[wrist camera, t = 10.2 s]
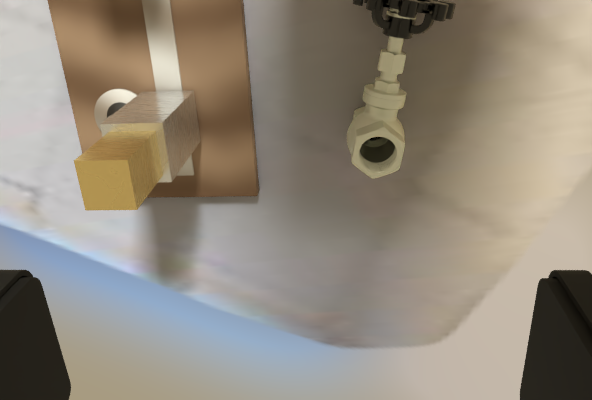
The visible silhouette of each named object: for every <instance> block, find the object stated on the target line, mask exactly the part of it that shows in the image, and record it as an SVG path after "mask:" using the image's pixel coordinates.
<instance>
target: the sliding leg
mask: <svg viewBox="0 0 592 400" xmlns="http://www.w3.org/2000/svg"><path fill="white" fill-rule="evenodd" d="M100 128H101V132H102V138H101V139H100V140H99V141H97V142H96V143H95V144H94V145H93V146H91V147H90V148H89V149H88V150H86V151H85V152H84V153H83V154H82V155H80V156H79V157H78V158H77V159H76V160H74V163H75V168H76V172H77V176H78V180H79V184H80V189H81V193H82V197H83V201H84V205H85V210H137V209H138V208H139V206H140V205H141V204H142V202H143V201H144V200H145V198H146V197H147V196H148V194H149V193H150V192H151V191H152V189H153V188H154V187H155V185H156V184H157V183H158V182H172V181H173V180H174V178H175V177H176V175H177V174H178V173H179V171H180V170H181V168H182V167H183V165H184V164H185V163H186V161H187V160H188V158H189V157H190V155H191V154H192V153H193V151H194V150H195V148H196V147H197V145H198V144H199V143H200V134H199V126H198V118H197V111H196V103H195V95H194V90H191V91H157V92H141V93H140V94H139V95H137V96H136V97H135V98H133V99H132V100H131V101H130V102H128V103H127V104H126V105H124V106H123V107H122V108H120V109H119V110H118V111H116V112H115V113H114V114H112V115H111V116H109V117H108V118H107V119H106V120H105V121H103V122H102V123H101V124H100Z"/></svg>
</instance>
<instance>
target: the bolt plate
mask: <svg viewBox="0 0 592 400" xmlns="http://www.w3.org/2000/svg"><path fill="white" fill-rule="evenodd" d="M48 4H49V9H50V13H51V18H52V22H53V26H54V31H55V35H56V39H57V44H58V48H59V53H60V57H61V61H62V66H63V70H64V74H65V79H66V83H67V88H68V92H69V96H70V101H71V105H72V109H73V114H74V118H75V123H76V127H77V131H78V136H79V140H80V144H81V149H82V153H84V152H85V151H86V150H88V149H89V148H90V147H91V146H93V145H94V144H95V143H96V142H97V141H99V140H100V139H101V138H102V132H101V128H100V124H101V123H102V122H103V121H105V120H106V119H107V118H108V117H109V116H111V115H112V114H114V113H115V112H116V111H118V110H119V109H120V108H122V107H123V106H124V105H126V104H127V103H128V102H130V101H131V100H132V99H133V98H135V97H136V96H137V95H139V94H140V93H141V92H157V91H191V90H194V95H195V103H196V111H197V118H198V126H199V134H200V143H199V144H198V145H197V147H196V148H195V150H194V151H193V153H192V154H191V155H190V157H189V158H188V160H187V161H186V163H185V164H184V165H183V167H182V168H181V170H180V171H179V173H178V174H177V175H176V177H175V178H174V180H173V181H172V182H158V183H157V184H156V185H155V187H154V188H153V189H152V191H151V192H150V193H149V194H148V196H147V197H216V196H257V195H258V192H259V182H258V170H257V158H256V146H255V134H254V123H253V111H252V99H251V87H250V75H249V64H248V52H247V40H246V28H245V16H244V4H243V0H48Z"/></svg>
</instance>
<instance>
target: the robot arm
mask: <svg viewBox="0 0 592 400" xmlns="http://www.w3.org/2000/svg"><path fill="white" fill-rule="evenodd" d="M70 391H71V384H70V379H69V376H68V373H67V369H66V366H65V363H64V359H63V356H62V352H61V349H60V345H59V342H58V339H57V335H56V332H55V328H54V325H53V322H52V318H51V315H50V312H49V308H48V305H47V301H46V298H45V295H44V291H43V288H42V285H41V282H40V280H39V279H38V278H35V277H33V275H32V274H31V273H30V272H29V271H27V270H0V400H69V396H70ZM520 400H592V274H591V273H590V272H589V271H585V270H554V271H552V272H551V273H550V275H549V278H542V279H540V281H539V283H538V288H537V294H536V300H535V306H534V312H533V318H532V324H531V329H530V335H529V342H528V347H527V354H526V359H525V365H524V371H523V377H522V383H521V389H520Z"/></svg>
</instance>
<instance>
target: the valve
mask: <svg viewBox="0 0 592 400" xmlns="http://www.w3.org/2000/svg"><path fill="white" fill-rule="evenodd" d="M364 3H367V6H366V9H368V10H371V11H372V19H373V22H374V23H375V25H376V26H378V27H380V28H382V29H383V34H385V35H387V36H389V41H388V46H387V49H381V52H380V57H379V62H378V70H379V71H381V74H380V77H376V78H375V82H374V84H367V85H365V88H364V93H363V98H362V100H363V101H364V102H365V103H366V106H364V107H361V108H358V109H356V110H354V115H353V121H352V122H351V124H350V126H349V128H348V132H347V146H348V149H349V151H350V153H351V163H352V164H354V165H355V166H356V167H357V168H358V169H359V170H361V171H362V172H363V173H365V174H366V175H367V176H369V177H370V178H372V179H374V178H379V177H382V176H385V175H388V174H391V173H393V172H396V171H398V170H399V168H400V165H401V161H402V157H403V153H404V148H405V142H404V141H405V134H404V130H403V127H402V124H401V123H400V121H399V120H398V119H397V113H398V109H402V108H403V107H404V103H405V99H406V95H407V94H406V92H405V91H404V90H402V89H400V88H399V86H400V82H399V81H398V80H397V74H402V73H403V68H404V64H405V59H406V53H405V52H403V51H401V50H402V46H403V41H404V39H410V38H412V35H413V34H420V33H424V32H426V31H427V30H428V29H430V27H431V26H432V24H433V22H434V20H436V21H445V19H452V17H453V13H454V9H455V5H456V4H455V3H453V2H449V1H441V0H440V1H438V0H364ZM353 4H355V5H360V6H362V4H363V0H353ZM383 7H387V8H390V10H387V13H386V18H385V20H383V18H382V12H383ZM417 12H418V13H425V17H424V21H423V23H422V24H421V25H415V21H416V17H417ZM373 137H382V138H381V139H378V140H368V139H370V138H373Z"/></svg>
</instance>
